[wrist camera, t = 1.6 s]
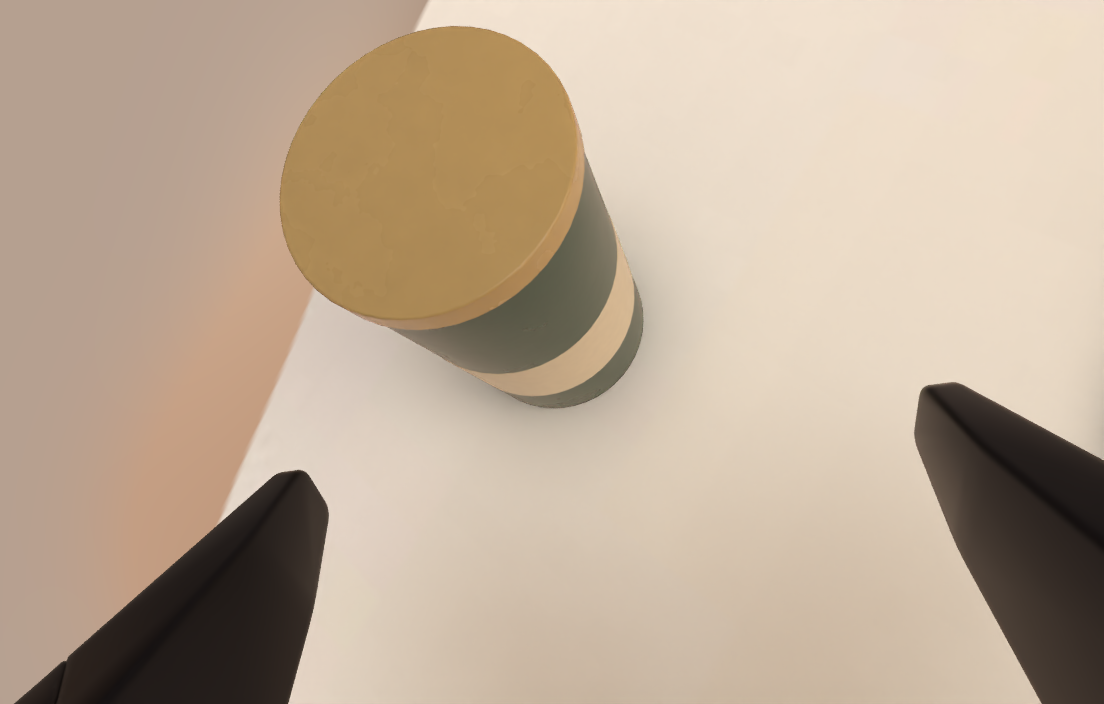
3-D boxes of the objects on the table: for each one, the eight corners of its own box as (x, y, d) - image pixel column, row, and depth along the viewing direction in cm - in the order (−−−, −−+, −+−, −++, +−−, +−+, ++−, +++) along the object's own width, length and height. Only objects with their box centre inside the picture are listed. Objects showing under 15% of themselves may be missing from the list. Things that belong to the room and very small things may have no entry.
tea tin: (630, 423, 23) (542, 338, 12) (459, 397, 25) (243, 302, 14) (658, 247, 24) (603, 21, 13) (493, 235, 26) (322, 28, 15)
